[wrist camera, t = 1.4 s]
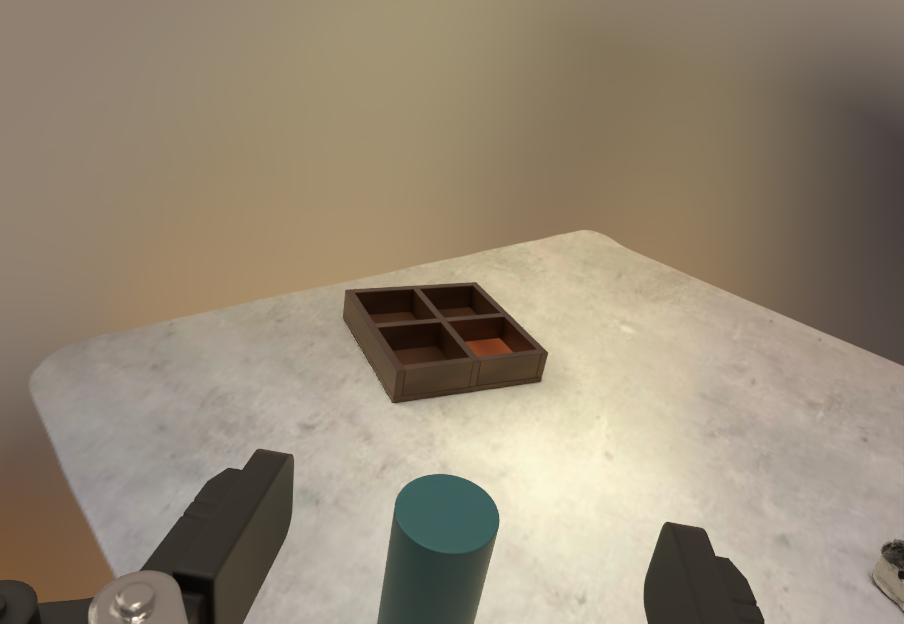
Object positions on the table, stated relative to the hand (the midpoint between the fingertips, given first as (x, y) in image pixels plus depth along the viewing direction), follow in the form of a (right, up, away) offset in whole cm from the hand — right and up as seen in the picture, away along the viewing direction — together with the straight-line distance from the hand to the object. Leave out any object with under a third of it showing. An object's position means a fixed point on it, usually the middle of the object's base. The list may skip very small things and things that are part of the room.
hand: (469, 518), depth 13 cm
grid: (-2, +1, +44) cm, 44 cm away
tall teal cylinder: (-2, -13, +17) cm, 21 cm away
